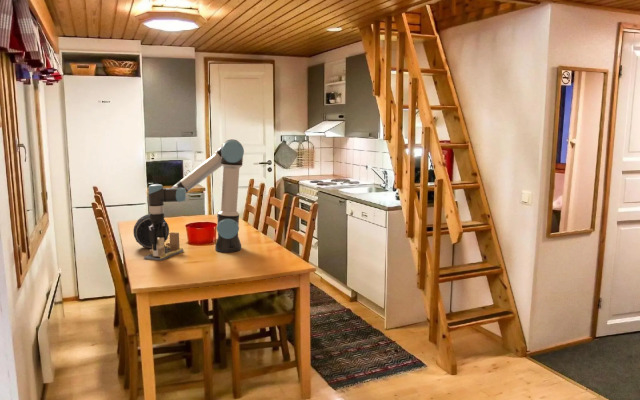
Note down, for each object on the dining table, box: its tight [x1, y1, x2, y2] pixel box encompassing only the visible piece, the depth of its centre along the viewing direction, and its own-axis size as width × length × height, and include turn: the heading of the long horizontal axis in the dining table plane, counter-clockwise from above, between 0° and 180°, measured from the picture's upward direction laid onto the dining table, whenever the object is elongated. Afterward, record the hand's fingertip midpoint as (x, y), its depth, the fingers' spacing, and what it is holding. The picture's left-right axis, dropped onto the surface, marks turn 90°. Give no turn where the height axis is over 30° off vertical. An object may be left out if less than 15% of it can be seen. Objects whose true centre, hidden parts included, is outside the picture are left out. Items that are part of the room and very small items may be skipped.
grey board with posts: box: [143, 231, 184, 262], centre depth 284 cm, size 11×21×11 cm, turn 162°
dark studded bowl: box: [133, 213, 170, 249], centre depth 300 cm, size 11×20×20 cm, turn 110°
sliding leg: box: [149, 237, 166, 257], centre depth 277 cm, size 8×4×10 cm, turn 72°
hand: (158, 254), depth 277 cm, fingers closed on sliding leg, 4 cm apart
